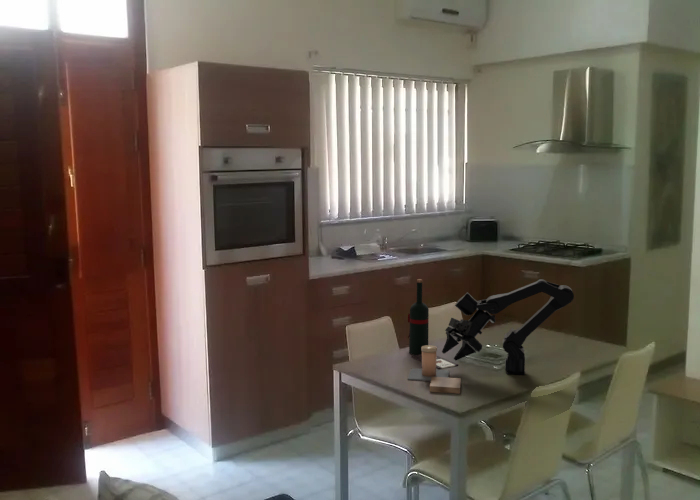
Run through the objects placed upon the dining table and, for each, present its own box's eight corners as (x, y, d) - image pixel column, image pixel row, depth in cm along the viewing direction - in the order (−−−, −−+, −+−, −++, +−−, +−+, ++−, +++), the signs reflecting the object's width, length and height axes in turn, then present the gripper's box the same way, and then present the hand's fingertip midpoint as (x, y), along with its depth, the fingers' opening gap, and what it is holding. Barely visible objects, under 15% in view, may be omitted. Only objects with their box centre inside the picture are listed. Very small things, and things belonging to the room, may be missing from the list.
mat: (449, 371, 248) (449, 370, 248) (447, 382, 236) (447, 380, 236) (411, 369, 250) (411, 368, 250) (407, 379, 238) (407, 378, 238)
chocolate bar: (430, 352, 270) (458, 364, 255) (429, 354, 271) (458, 366, 255) (411, 355, 266) (438, 367, 250) (411, 358, 266) (438, 370, 251)
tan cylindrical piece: (437, 372, 245) (437, 345, 244) (436, 377, 240) (436, 349, 238) (421, 371, 246) (421, 345, 245) (420, 376, 241) (420, 349, 239)
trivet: (460, 383, 234) (460, 378, 234) (459, 393, 224) (459, 387, 224) (431, 382, 236) (431, 376, 236) (429, 391, 226) (429, 386, 226)
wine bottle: (416, 347, 280) (417, 276, 276) (432, 353, 272) (433, 279, 268) (401, 350, 275) (402, 278, 271) (417, 356, 267) (418, 281, 263)
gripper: (450, 305, 253) (423, 336, 251) (475, 315, 235) (446, 349, 233) (468, 323, 257) (442, 354, 254) (494, 335, 239) (466, 368, 237)
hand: (448, 356), depth 245 cm, fingers open, 9 cm apart
